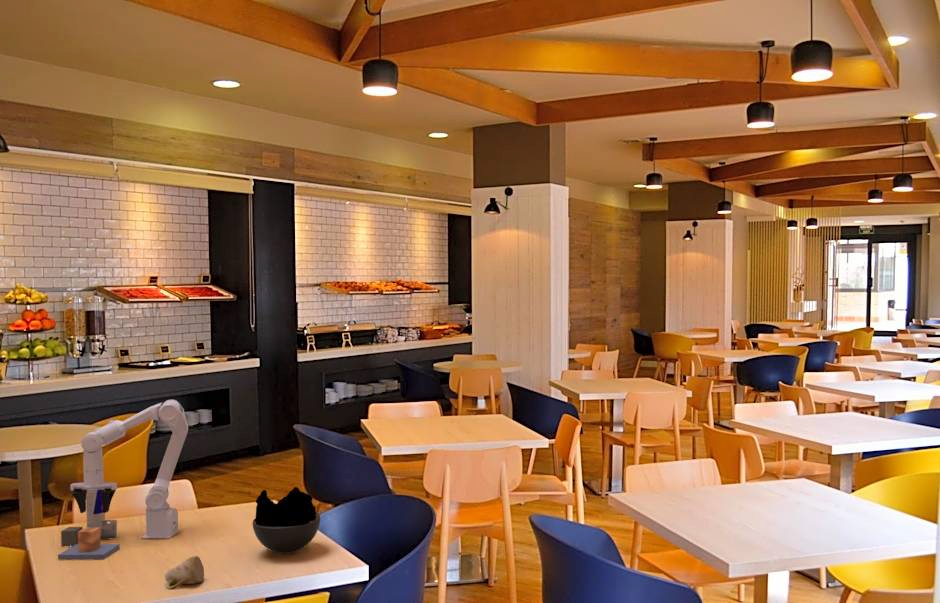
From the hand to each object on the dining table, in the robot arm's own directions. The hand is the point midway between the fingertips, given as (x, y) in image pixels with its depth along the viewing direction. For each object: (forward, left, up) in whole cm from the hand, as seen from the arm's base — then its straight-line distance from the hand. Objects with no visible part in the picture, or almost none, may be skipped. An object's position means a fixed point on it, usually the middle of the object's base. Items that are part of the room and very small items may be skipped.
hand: (94, 512), depth 262 cm
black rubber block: (+6, +3, -10) cm, 12 cm away
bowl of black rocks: (-66, +12, -10) cm, 68 cm away
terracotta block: (-5, +13, -8) cm, 16 cm away
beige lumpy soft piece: (-45, +38, -10) cm, 60 cm away
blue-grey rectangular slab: (-5, +13, -9) cm, 17 cm away
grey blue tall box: (+5, -10, -10) cm, 15 cm away
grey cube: (-2, -4, -9) cm, 10 cm away
